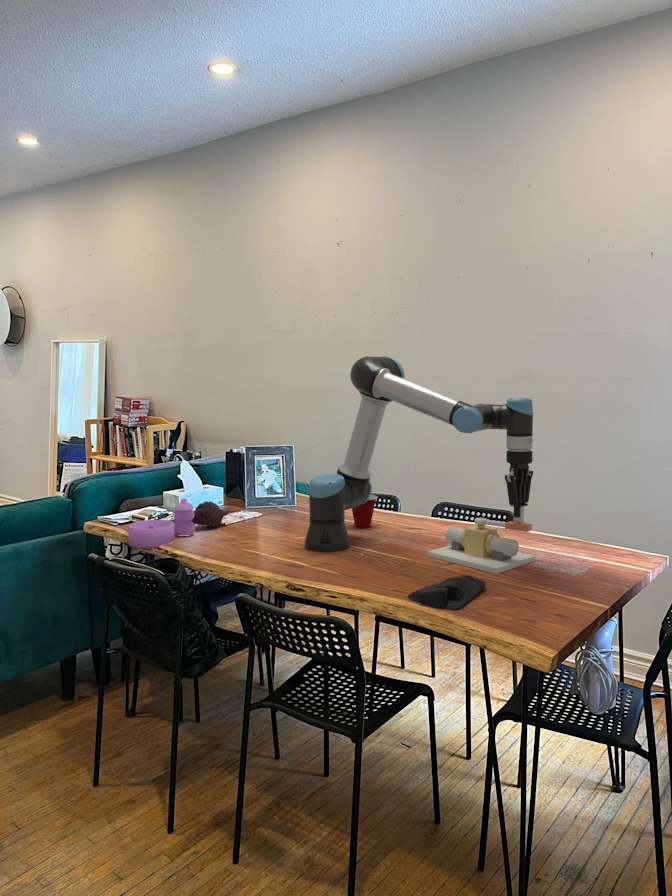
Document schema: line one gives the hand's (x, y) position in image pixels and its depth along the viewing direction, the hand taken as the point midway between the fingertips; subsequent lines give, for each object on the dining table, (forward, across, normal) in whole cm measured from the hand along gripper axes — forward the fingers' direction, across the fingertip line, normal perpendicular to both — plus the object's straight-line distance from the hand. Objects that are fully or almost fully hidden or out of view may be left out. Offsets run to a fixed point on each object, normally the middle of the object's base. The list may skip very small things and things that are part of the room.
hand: (518, 527), depth 210 cm
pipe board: (+11, -4, +11) cm, 16 cm away
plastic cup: (+11, +4, +67) cm, 68 cm away
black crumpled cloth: (+11, -39, -3) cm, 41 cm away
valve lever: (0, -3, +4) cm, 5 cm away
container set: (+10, -59, +104) cm, 120 cm away
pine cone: (+10, -37, +108) cm, 115 cm away
